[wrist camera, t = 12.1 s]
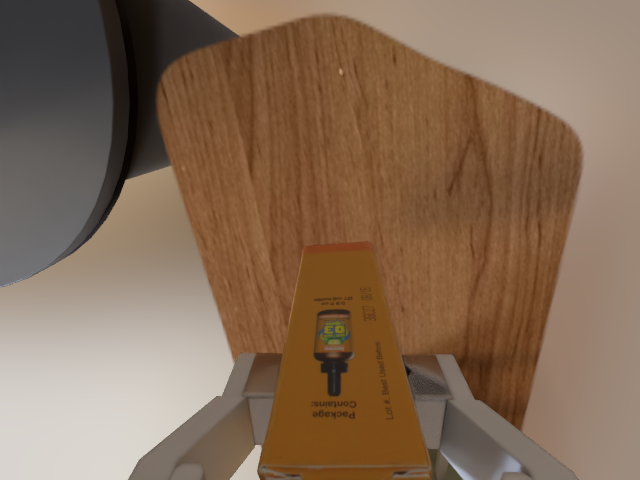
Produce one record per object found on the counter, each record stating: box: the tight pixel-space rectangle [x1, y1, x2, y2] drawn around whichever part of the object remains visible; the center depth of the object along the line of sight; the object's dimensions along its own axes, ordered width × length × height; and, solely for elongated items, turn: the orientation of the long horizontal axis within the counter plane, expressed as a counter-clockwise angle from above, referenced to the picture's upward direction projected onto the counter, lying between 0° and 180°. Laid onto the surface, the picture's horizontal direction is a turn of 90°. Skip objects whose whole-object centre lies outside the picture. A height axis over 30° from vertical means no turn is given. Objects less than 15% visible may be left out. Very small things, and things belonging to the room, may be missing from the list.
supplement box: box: [257, 241, 432, 480], centre depth 11 cm, size 3×4×10 cm
